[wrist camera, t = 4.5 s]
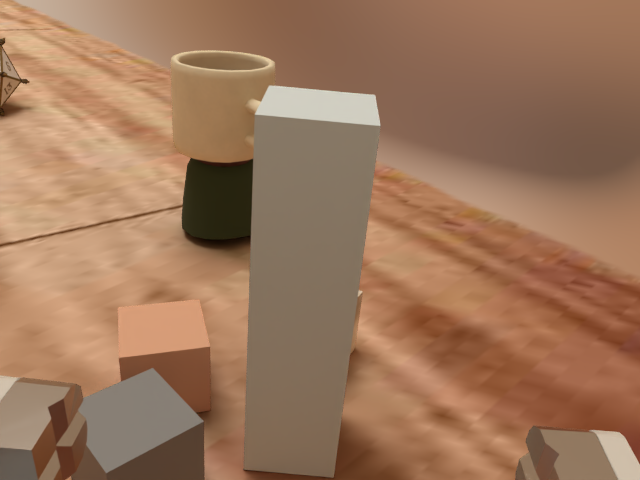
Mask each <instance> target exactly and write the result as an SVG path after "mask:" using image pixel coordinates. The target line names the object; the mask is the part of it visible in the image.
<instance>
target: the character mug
mask: <svg viewBox="0 0 640 480" xmlns="http://www.w3.org/2000/svg"><path fill="white" fill-rule="evenodd" d="M269 85H270V86H275V62H274V61H272V60H270V59H268V58H266V57H262V56H258V55H253V54H248V53H240V52H230V51H192V52H183V53H180V54H177V55H174V56H173V57H172V58H171V96H172V125H173V142H174V146H175V148H176V149H177V151H178V152H179V153H180V154H183V155H185V156H188V157H190V158H191V159H190V161H189V163H188V165H187V172H186V180H185V188H184V196H183V209H182V228H183V229H184V230H185V231H186V232H188V233H189V234H190V235H191V236H195V237H199V238H204V239H232V238H239V237H245V236H250V235H251V217H252V185H253V154H254V122H255V113H256V111H257V109H258V107H259V105H260V103H261V101H262V99H263V97H264V95H265V93H266V91H267V89H268V87H269Z"/></svg>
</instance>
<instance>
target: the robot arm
mask: <svg viewBox="0 0 640 480" xmlns="http://www.w3.org/2000/svg"><path fill="white" fill-rule="evenodd" d="M82 402H83V395H82V390H81V386H79V385H77V384H74V383H65V382H57V381H48V380H40V379H31V378H17V377H8V376H0V480H65V479H67V478H68V477H70V476H71V475H72V474H74V473H75V472H76V471H77V469H78V467H79V464H80V462H81V460H82V458H83V454H84V451H85V447H86V443H87V430H88V429H87V421H86V418H85V417H84V416H83V415H82V414H81V413H80V412H79V411H78V409H79V408H80V406H81V404H82ZM526 444H527V447H528V450H529V453H527V454H526V455H524V456H523V457H522V458H520V459H519V463H518V466H517V470H516V478H515V480H640V464H639V462H638V461H637V459H636V457H635V455H634V453H633V451H632V450H631V448H630V446H629V444H628V442H627V441H626V439H625V437H624V436H623V435H622V434H620V433H619V432H610V431H598V430H589V431H588V430H582V429H570V428H558V427H546V426H533V427H532V428H531V429H530V430H529V433H528V436H527V438H526Z"/></svg>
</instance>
